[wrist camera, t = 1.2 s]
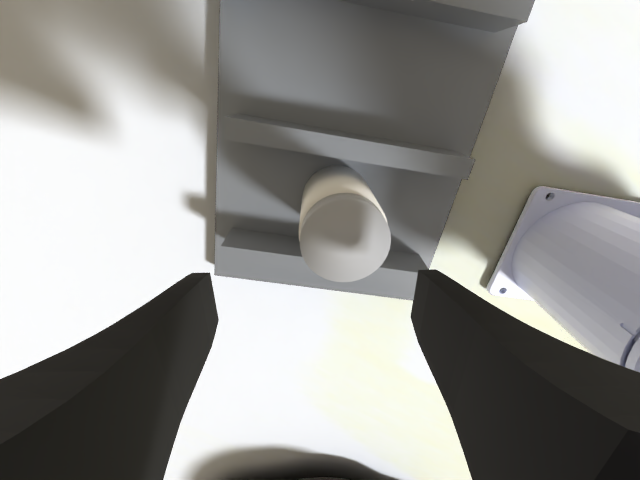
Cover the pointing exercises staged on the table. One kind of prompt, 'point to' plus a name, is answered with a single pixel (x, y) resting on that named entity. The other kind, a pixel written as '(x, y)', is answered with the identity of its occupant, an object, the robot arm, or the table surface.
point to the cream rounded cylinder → (342, 226)
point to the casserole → (322, 478)
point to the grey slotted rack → (350, 122)
